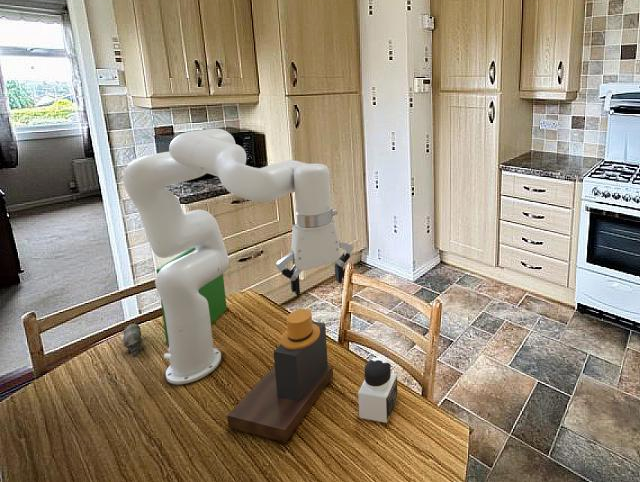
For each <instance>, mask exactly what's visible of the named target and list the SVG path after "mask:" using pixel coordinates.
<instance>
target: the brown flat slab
mask: <svg viewBox="0 0 640 482" xmlns="http://www.w3.org/2000/svg"><path fill="white" fill-rule="evenodd" d="M333 377H334V366H333V365H332V364H328V365H327V366H326V367H325V369H324V370H323V371H322V373H321V374H320V375H319V376H318V378H317V379H316V380H315V382H314V383H313V384H312V386H311V387H310V388H309V390H308V391H307V392H306V393H305V395H304V396H303V397H302V399H301V400H300V401H295V400H290V399H286V398H282V397H277V387H276V375H275V364H274V365H273V366H272V367H271V369H269V370H268V372H266V373H265V375H264V376H262V378H261V379H260V380H259V381H258V382H257V383H256V384H255V385H254V386H253V387H252V388H251V389H250V391H248V393H246V395H245V396H244V397H243V398H242V399H241V400H240V401H239V402H238V403H237V404H236V405H235V406H234V407H233V408H232V410H230V412H229V413H228V414H227V415H226V417H227V425H228V428H232V430H234V431H235V430H236V431H239V432H242V433H247V434H249V435H254V436H257V437H262V438H265V439H269V440H273V441H277V442H280V443H284V444H286V443H287V442H288V441H289V439H290V438H291V437H292V434H293V433H294V431H295V430H296V428H297V427H298V426H299V424H300V423H301V421H302V420H303V419H304V417H305V416H306V415H307V413H308V412H309V410H310V409H311V408H312V406H313V405H314V403H315V402H316V401H317V399H318V398H319V396H320V395H321V394H322V392H323V391H324V389H325V388H326V387H327V386H328V385H329V383H331V381H332V379H333Z"/></svg>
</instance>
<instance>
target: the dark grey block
mask: <svg viewBox="0 0 640 482" xmlns="http://www.w3.org/2000/svg"><path fill="white" fill-rule="evenodd" d="M312 323H313V324H316V325H317V326H318V327H319V328H320V335H319V337H318V339H317V340H316V341H315V342H314V343H312V344H311V345H309V346H307V347H304V348H300V349H287V348H285V347H283V346H282V345H281V343H280V344H279V345H278V346H277V347H276V348H275V349H274V350H273V361H274V362H273V363H274V365H275V375H276V387H277V397H282V398H286V399H290V400H295V401H300V400H301V399H302V397H303V396H304V395H305V393H306V392H307V391H308V390H309V388H310V387H311V386H312V384H313V383H314V382H315V380H316V379H317V378H318V376H319V375H320V374H321V373H322V371H323V370H324V369H325V367H326V366H327V365H329V364H328V363H329V362H328V361H329V360H328V348H327V347H328V346H327V345H328V344H327V331H326V323H324V322H319V321H314V320H312Z"/></svg>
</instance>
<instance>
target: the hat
mask: <svg viewBox="0 0 640 482" xmlns="http://www.w3.org/2000/svg"><path fill="white" fill-rule="evenodd" d="M312 321H313V315H312V311H311V310H310V309H307V308H300V309H297V310H294V311H291V312H290V313H289V314H288V315H287V316H286V326H287V327H286V328H287V329H286V330H285V331H284V332H283V333H282V334H281V335H280V344H281V345H282V346H283V347H285V348H287V349H300V348H304V347H307V346H309V345H311V344H312V343H314V342H315V341H316V340H317V339H318V337H319V335H320V328H319V327H318V326H317V325H316V324H313V323H312Z"/></svg>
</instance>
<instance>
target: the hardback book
mask: <svg viewBox="0 0 640 482" xmlns="http://www.w3.org/2000/svg"><path fill="white" fill-rule="evenodd" d="M194 251H196V249H195V247H193V248H191V249H188V250H186V251H184V252H182V253H180V254H178V255H176V256H175V257H174V258H172V259H171V260H169V261H167V262H166V263H164V264H163V265H161V266H159V267H157V268H156V275H157V274H158V273H159V271H160V270H161V269H162V268H163V267H165V266H166V265H168V264H169V263H171V262H173V261H175V260H177V259H179V258H181V257H183V256H186V255H188V254H190V253H192V252H194ZM225 288H226V287H225V278H224V273H223V274H222V275H220V276H219V277H217V278H216V279H214V280H212V281H211V282H209V283H207V284H205V285H204V286H203V287H201V288H200V289H199V290H198V292H199V294H201V295H202V296H204V297H205V298H206V299H207V301H208V305H209V313H210V322H211V325H212V324H213V323H214V322H215V321H216V320H217V319H218V318H219V317H220V316H221V315H222V314H224V312H226V310H227V309H228V308H227V297H226V289H225ZM159 298H160V297H159ZM159 300H160V306H161V312H162V313H161V314H162V320H163V327H164V334H165V335H164V336H165V341H166V345H167V344H168V345H169V340H168V333H167V325H166V319H165V313H164V308H163V304H162V300H161V298H160V299H159Z"/></svg>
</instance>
